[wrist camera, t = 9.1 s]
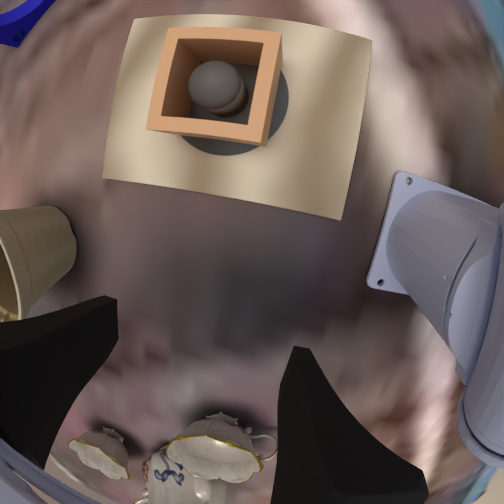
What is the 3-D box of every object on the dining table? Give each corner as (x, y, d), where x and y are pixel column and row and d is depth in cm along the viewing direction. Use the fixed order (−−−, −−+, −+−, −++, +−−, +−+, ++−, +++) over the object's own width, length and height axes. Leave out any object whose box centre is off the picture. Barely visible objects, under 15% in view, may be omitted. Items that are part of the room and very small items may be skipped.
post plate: (368, 45, 14) (394, 10, 9) (337, 217, 18) (358, 240, 13) (140, 23, 15) (101, -5, 10) (109, 176, 19) (60, 185, 13)
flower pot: (89, 183, 19) (2, 204, 11) (100, 297, 22) (36, 352, 14) (19, 188, 20) (-52, 207, 12) (32, 282, 23) (-27, 320, 15)
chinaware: (237, 362, 24) (167, 529, 8) (318, 461, 26) (309, 585, 10) (81, 414, 31) (17, 483, 15) (153, 484, 33) (114, 556, 17)
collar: (282, 59, 14) (281, 32, 10) (266, 147, 16) (260, 142, 12) (191, 51, 14) (168, 27, 11) (174, 134, 16) (145, 129, 12)
